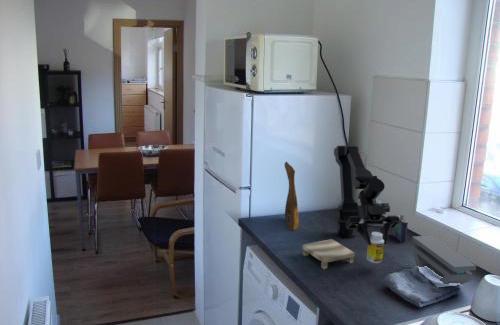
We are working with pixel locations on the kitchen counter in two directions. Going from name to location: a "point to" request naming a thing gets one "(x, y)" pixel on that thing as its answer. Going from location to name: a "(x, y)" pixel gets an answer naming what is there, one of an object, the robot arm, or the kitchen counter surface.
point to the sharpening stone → (442, 260)
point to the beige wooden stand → (328, 252)
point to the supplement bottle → (375, 247)
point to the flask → (401, 229)
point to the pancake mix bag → (291, 201)
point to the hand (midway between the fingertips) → (377, 244)
